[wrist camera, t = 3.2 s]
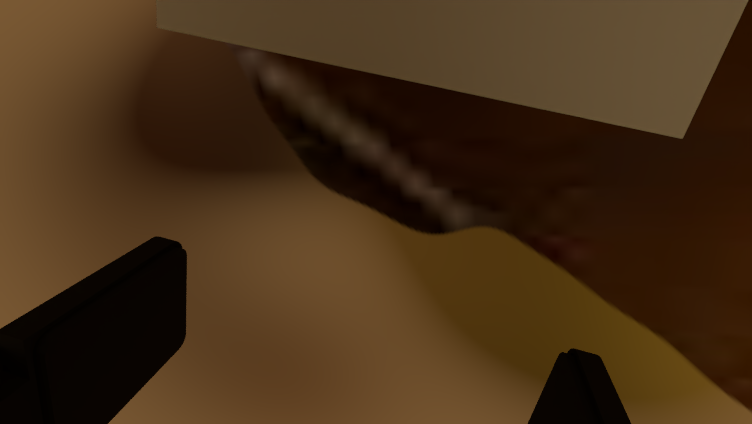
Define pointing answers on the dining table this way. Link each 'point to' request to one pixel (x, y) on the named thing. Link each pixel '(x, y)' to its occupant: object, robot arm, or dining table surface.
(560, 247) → the dining table surface
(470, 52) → the box
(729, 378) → the dining table surface
